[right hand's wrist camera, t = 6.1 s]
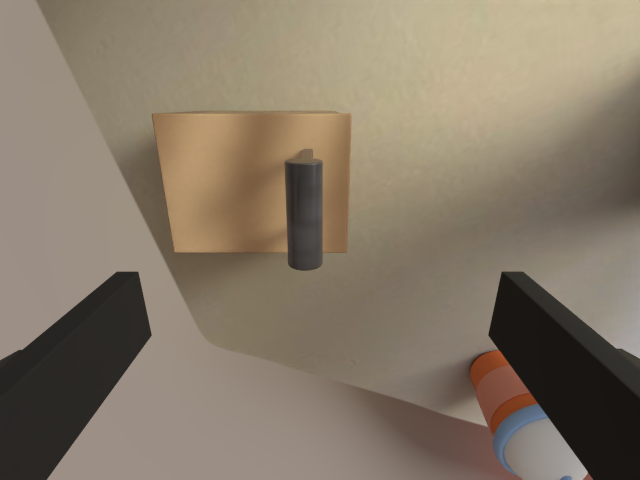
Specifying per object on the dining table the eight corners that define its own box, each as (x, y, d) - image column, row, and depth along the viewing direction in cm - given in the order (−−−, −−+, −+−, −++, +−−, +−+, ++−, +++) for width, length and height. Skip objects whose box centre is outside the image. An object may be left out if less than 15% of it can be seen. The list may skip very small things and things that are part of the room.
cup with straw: (452, 397, 45) (529, 569, 29) (463, 339, 42) (557, 495, 25) (522, 397, 45) (641, 570, 29) (538, 339, 42) (683, 496, 25)
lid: (350, 113, 24) (364, 117, 16) (346, 247, 28) (356, 304, 20) (158, 113, 24) (79, 117, 16) (179, 247, 28) (123, 303, 20)
